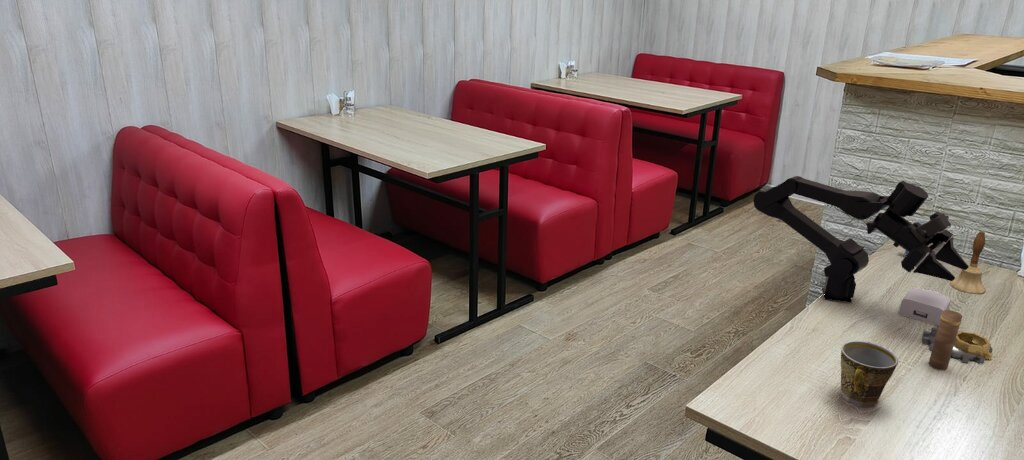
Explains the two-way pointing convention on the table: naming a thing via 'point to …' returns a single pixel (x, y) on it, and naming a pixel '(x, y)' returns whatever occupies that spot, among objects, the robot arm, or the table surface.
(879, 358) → the ceramic cup
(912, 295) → the charger
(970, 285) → the hand bell
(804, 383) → the table surface
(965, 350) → the sprocket
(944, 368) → the peg
